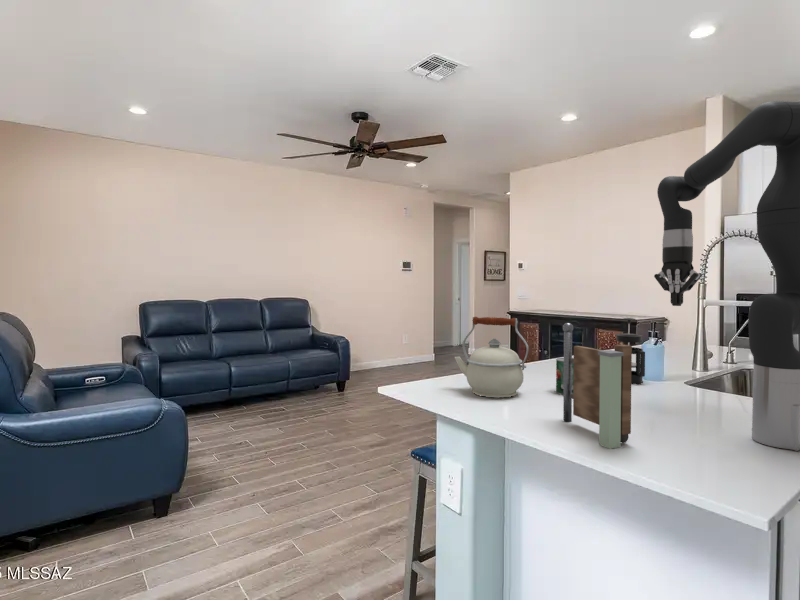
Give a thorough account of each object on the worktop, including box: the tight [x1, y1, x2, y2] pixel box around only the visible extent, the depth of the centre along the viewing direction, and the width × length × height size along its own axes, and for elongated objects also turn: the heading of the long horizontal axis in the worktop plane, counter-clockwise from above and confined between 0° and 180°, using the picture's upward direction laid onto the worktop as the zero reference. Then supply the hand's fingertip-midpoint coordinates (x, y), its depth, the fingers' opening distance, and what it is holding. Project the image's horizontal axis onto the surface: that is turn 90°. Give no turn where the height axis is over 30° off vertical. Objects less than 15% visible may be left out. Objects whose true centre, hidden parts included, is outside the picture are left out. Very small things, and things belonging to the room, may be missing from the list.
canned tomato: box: [555, 357, 574, 396], centre depth 147 cm, size 8×8×11 cm
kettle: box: [454, 316, 530, 398], centre depth 148 cm, size 25×18×25 cm
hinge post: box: [562, 322, 574, 423], centre depth 117 cm, size 3×3×26 cm
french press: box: [614, 317, 646, 385], centre depth 163 cm, size 12×9×23 cm
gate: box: [570, 344, 633, 444], centre depth 108 cm, size 18×3×22 cm, turn 19°
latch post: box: [598, 349, 624, 450], centre depth 99 cm, size 4×4×21 cm
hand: (676, 305), depth 132 cm, fingers closed
